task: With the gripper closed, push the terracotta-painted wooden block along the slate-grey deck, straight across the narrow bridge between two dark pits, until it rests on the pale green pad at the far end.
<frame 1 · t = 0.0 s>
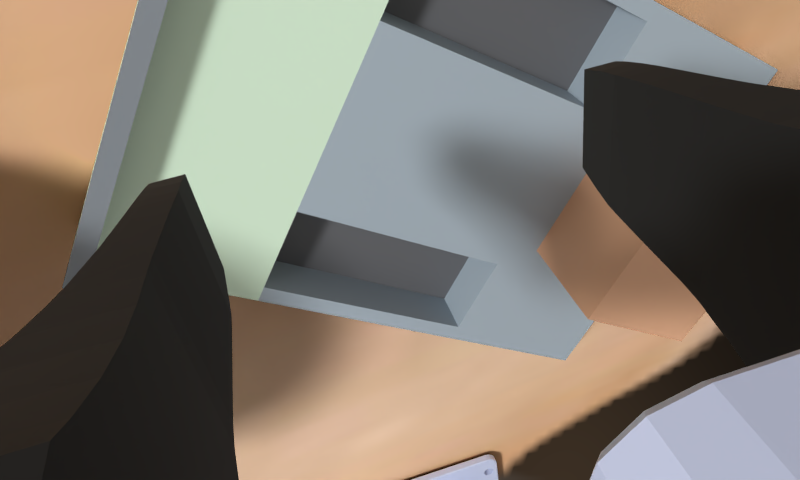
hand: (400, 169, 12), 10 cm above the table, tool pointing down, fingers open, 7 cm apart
deck: (429, 134, 23), on the table
block: (613, 216, 25), point 2 cm above the table, touching deck
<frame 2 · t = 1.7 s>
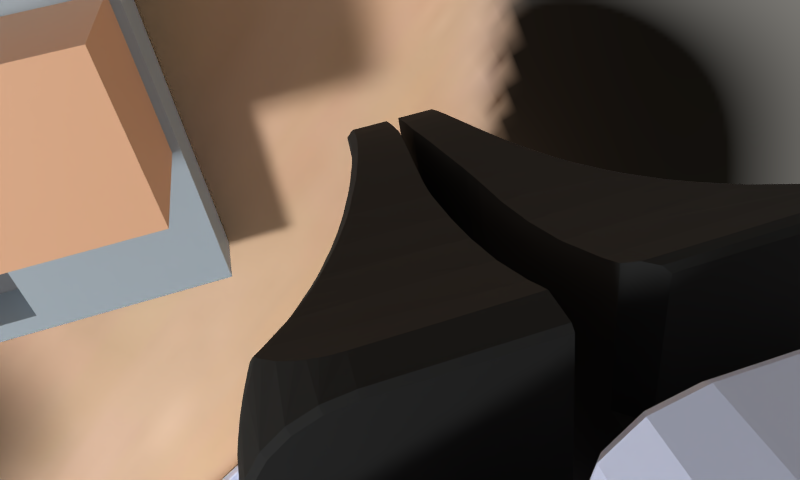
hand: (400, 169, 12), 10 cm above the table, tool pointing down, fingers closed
block: (54, 100, 17), point 2 cm above the table, touching deck
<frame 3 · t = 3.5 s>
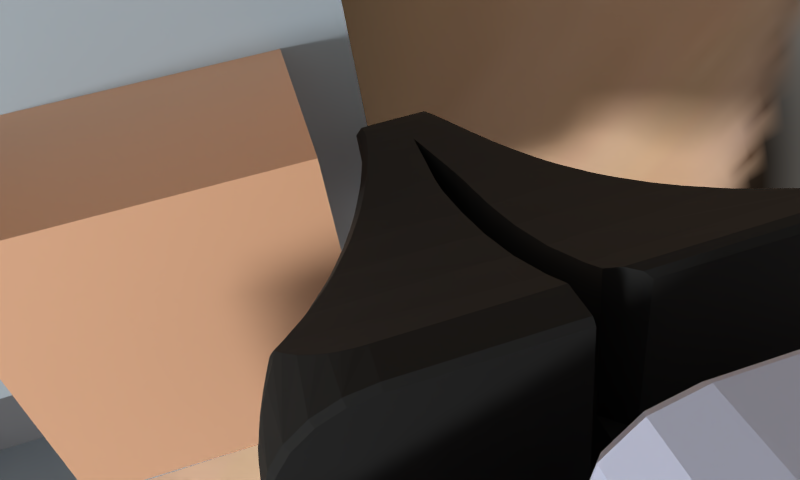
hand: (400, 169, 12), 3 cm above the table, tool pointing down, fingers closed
block: (190, 197, 12), point 2 cm above the table, touching gripper
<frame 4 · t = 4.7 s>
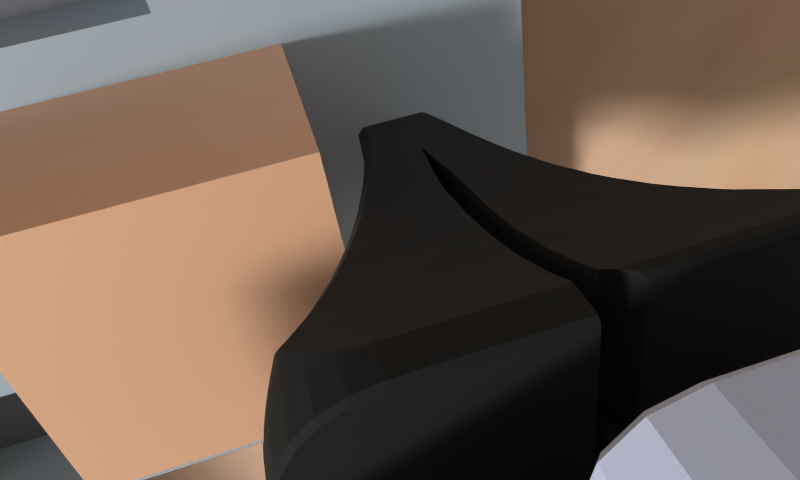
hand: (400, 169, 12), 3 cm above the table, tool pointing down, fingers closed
deck: (16, 194, 13), on the table
block: (191, 193, 12), point 2 cm above the table, touching deck, gripper
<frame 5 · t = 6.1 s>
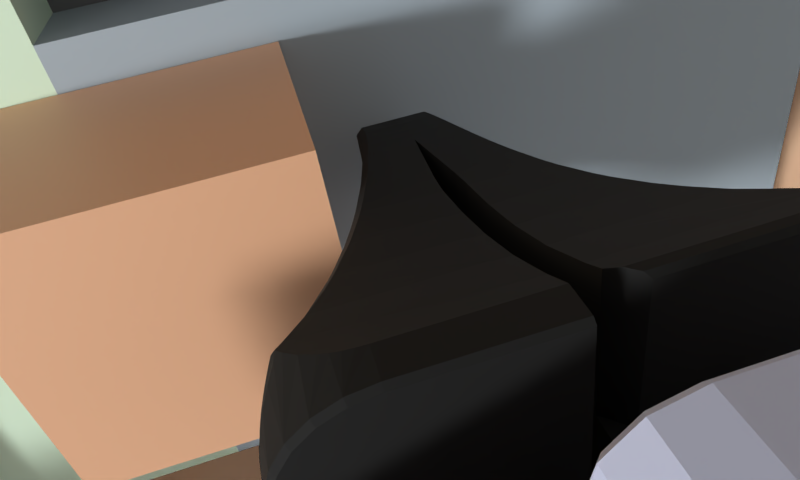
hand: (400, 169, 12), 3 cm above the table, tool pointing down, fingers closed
deck: (319, 119, 14), on the table
block: (189, 191, 12), point 2 cm above the table, touching deck, gripper
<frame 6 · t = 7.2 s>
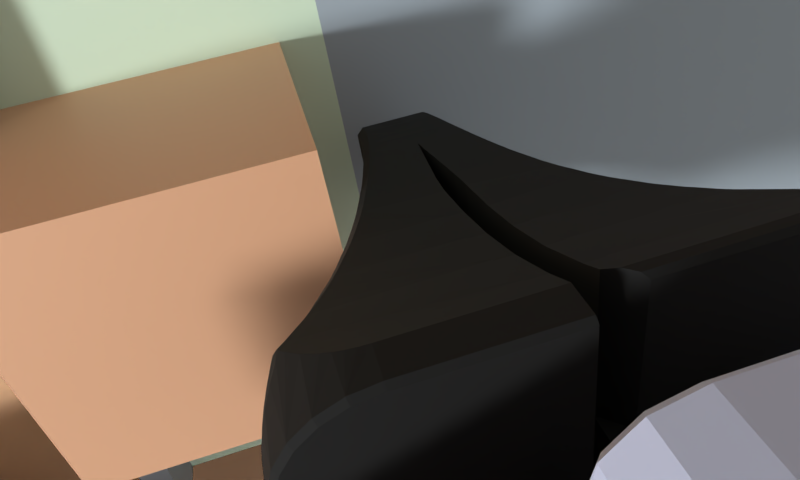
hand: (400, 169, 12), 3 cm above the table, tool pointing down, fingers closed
deck: (509, 69, 14), on the table
block: (189, 192, 12), point 2 cm above the table, touching deck, gripper
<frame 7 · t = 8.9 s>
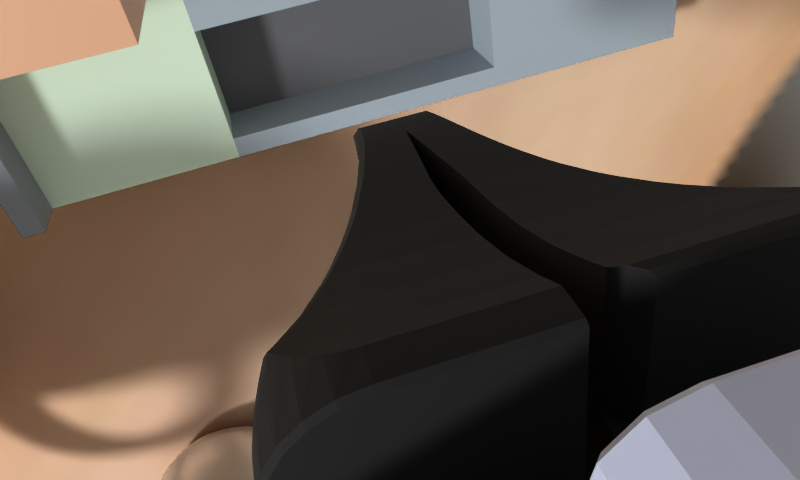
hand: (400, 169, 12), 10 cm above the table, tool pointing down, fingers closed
plastic bottle: (233, 452, 29), on the table
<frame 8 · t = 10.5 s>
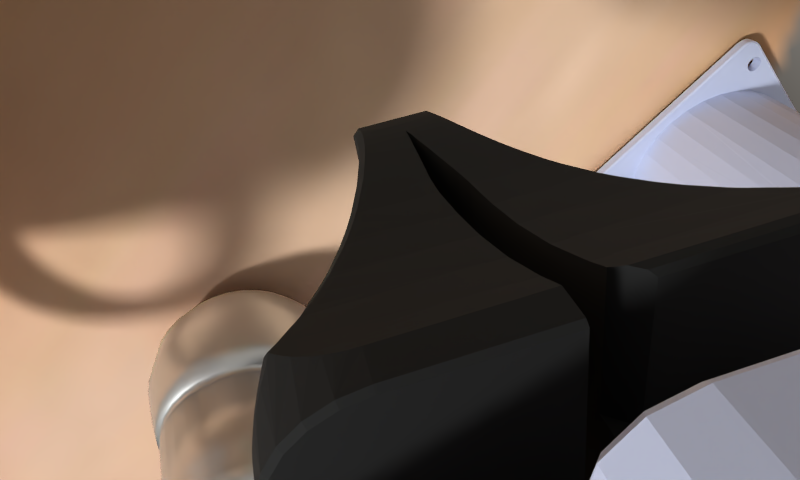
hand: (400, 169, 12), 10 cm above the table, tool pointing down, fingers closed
plastic bottle: (242, 330, 26), on the table
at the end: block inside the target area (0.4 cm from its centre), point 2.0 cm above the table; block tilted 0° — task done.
